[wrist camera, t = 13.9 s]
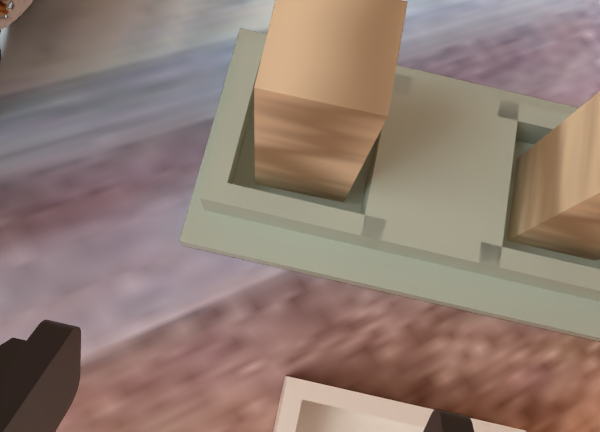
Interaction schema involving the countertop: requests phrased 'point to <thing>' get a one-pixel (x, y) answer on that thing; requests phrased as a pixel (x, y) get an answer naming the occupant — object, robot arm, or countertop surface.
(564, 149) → the block
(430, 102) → the green slotted tray
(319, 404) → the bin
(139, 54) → the countertop surface
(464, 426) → the robot arm
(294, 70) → the block
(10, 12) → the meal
